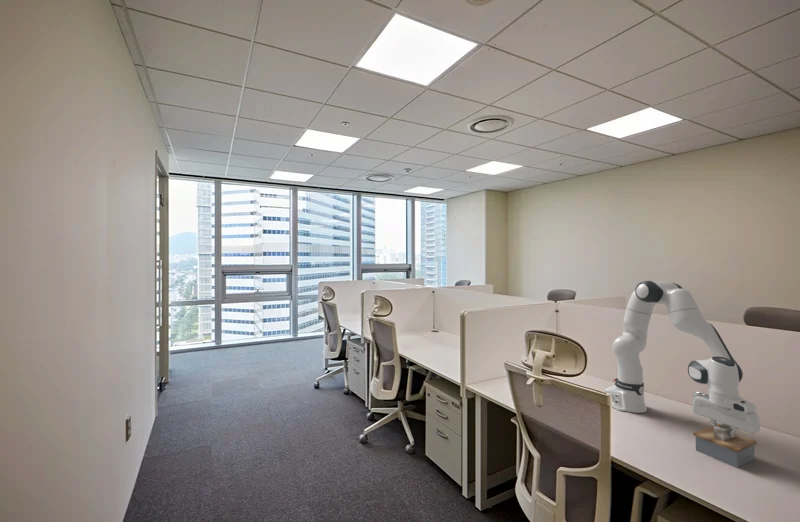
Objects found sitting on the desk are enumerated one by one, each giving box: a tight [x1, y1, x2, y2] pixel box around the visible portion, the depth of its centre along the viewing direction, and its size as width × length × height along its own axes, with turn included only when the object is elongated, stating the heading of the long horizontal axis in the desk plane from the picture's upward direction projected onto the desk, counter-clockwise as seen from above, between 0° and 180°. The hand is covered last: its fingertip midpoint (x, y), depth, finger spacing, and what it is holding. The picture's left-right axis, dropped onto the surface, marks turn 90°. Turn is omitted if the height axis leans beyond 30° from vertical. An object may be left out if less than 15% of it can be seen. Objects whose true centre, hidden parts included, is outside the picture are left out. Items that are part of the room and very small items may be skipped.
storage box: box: [695, 436, 756, 469], centre depth 138 cm, size 13×13×7 cm
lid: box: [693, 424, 758, 453], centre depth 138 cm, size 14×14×5 cm
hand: (724, 433), depth 138 cm, fingers closed on lid, 3 cm apart
